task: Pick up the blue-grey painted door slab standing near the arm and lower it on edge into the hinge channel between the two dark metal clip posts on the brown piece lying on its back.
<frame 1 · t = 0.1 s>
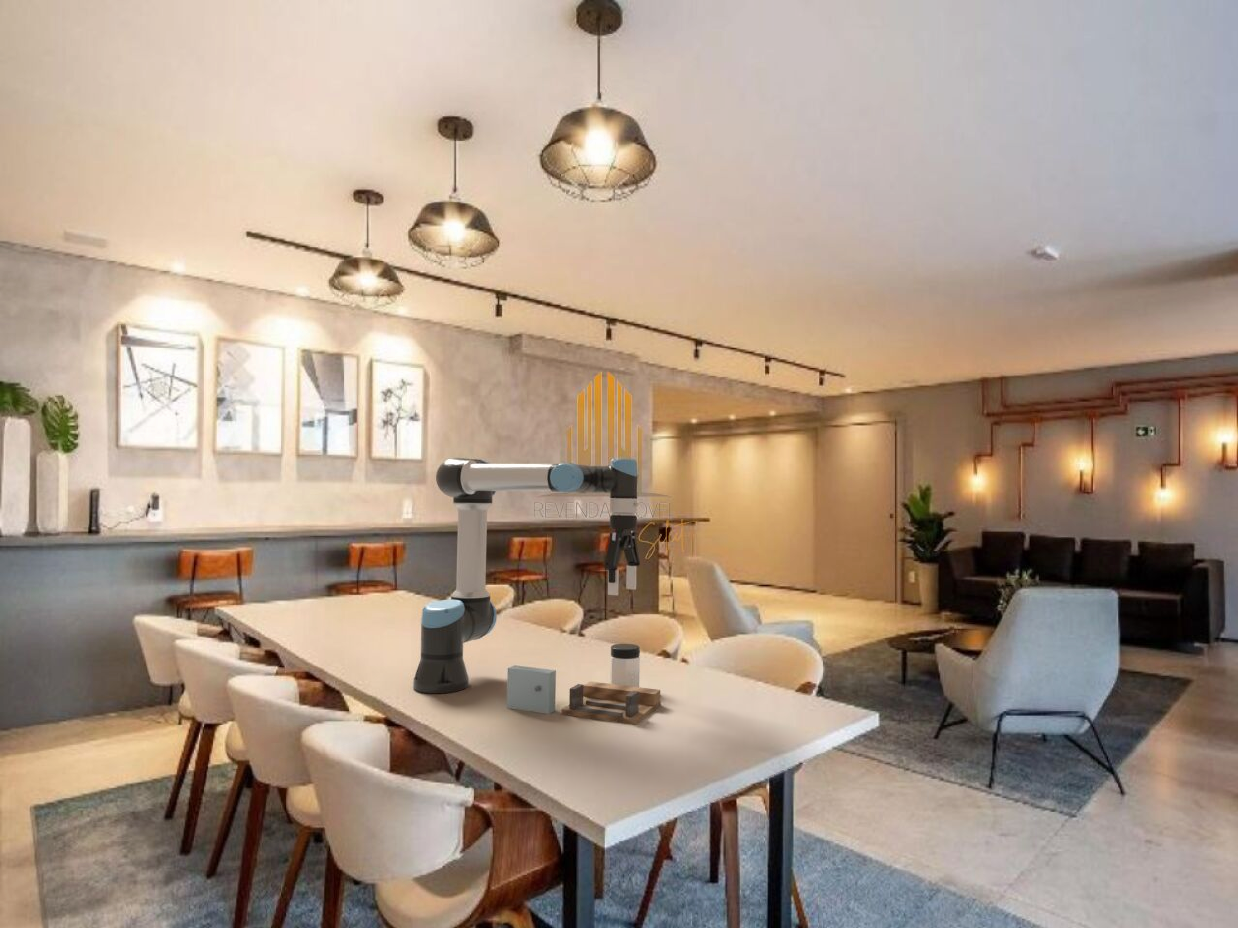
hand: (622, 592, 198), 28 cm above the table, fingers open, 13 cm apart
brown piece: (612, 709, 183), on the table
door: (530, 708, 183), on the table
jar: (624, 690, 202), on the table
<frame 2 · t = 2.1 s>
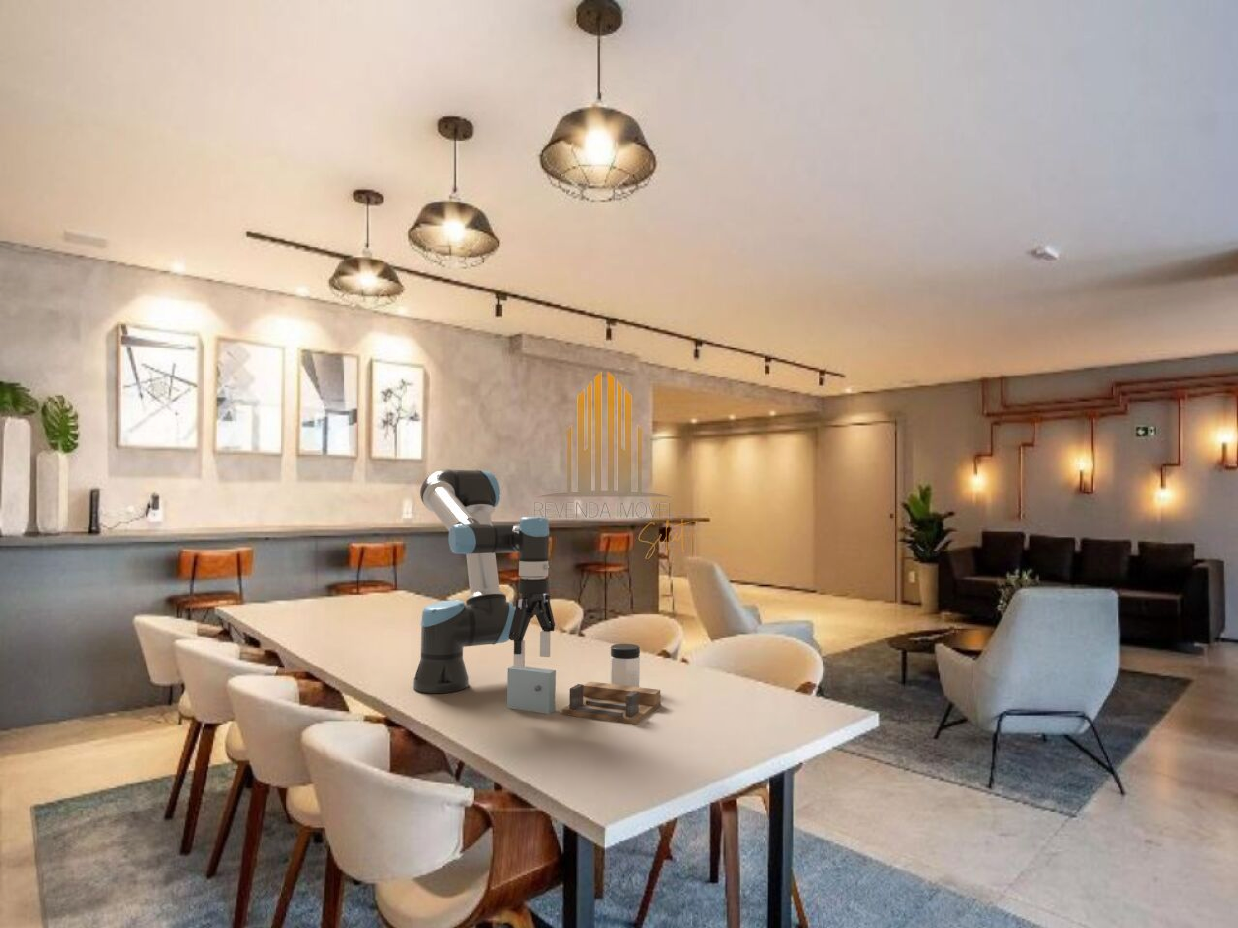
hand: (532, 661, 183), 12 cm above the table, fingers open, 13 cm apart
nothing on the table moved.
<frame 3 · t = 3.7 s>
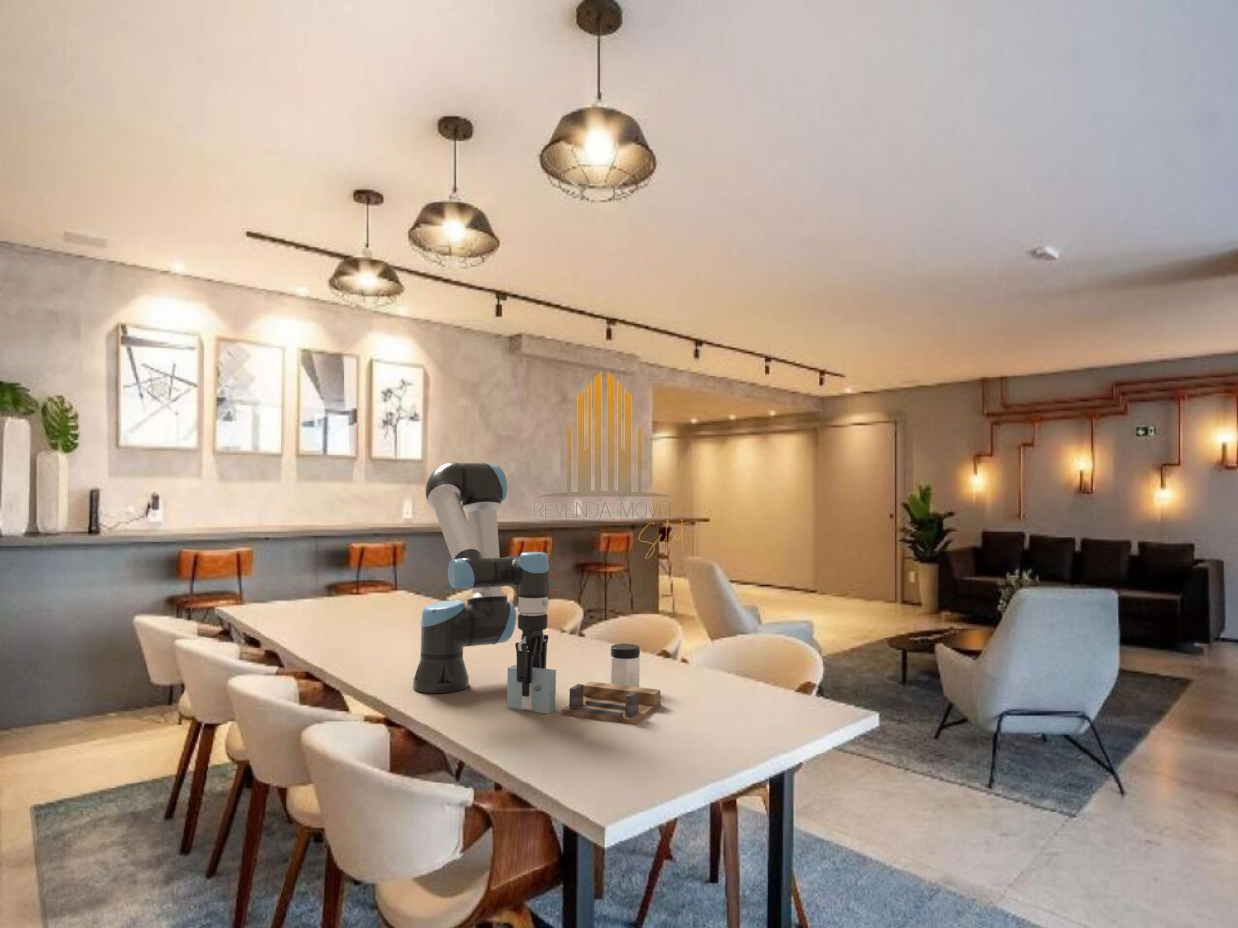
hand: (531, 706, 183), 1 cm above the table, fingers closed on door, 3 cm apart
door: (530, 708, 183), on the table, touching gripper
everything else where it was.
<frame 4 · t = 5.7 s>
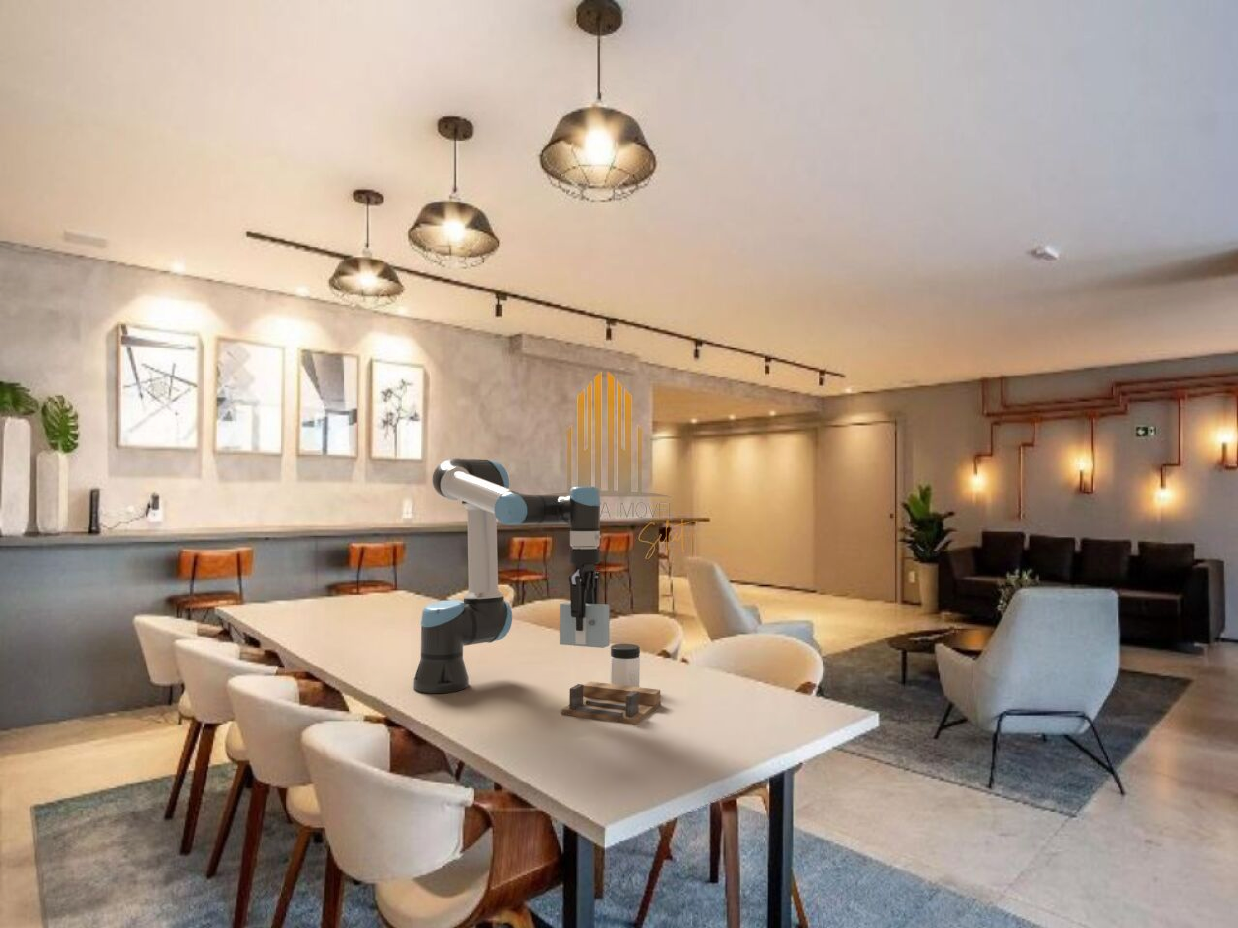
hand: (584, 642, 179), 18 cm above the table, fingers closed on door, 3 cm apart
door: (584, 644, 179), point 17 cm above the table, touching gripper
everything else where it was.
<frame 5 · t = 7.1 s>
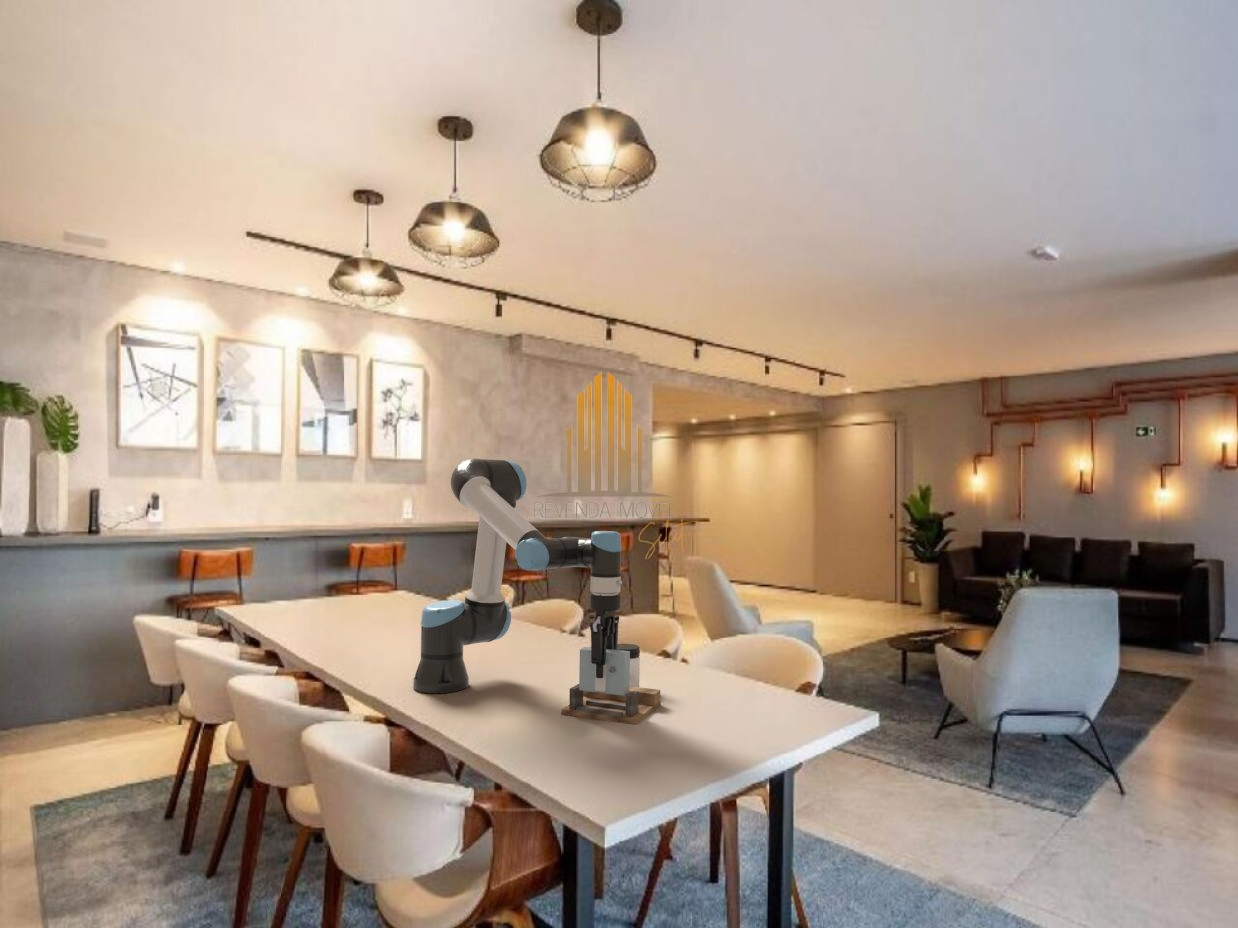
hand: (604, 688, 178), 7 cm above the table, fingers closed on door, 3 cm apart
door: (604, 690, 178), point 6 cm above the table, touching gripper
everything else where it was.
when the fingers open (3 cm above the table, at t = 8.0 s): door drops 1 cm, resting on brown piece.
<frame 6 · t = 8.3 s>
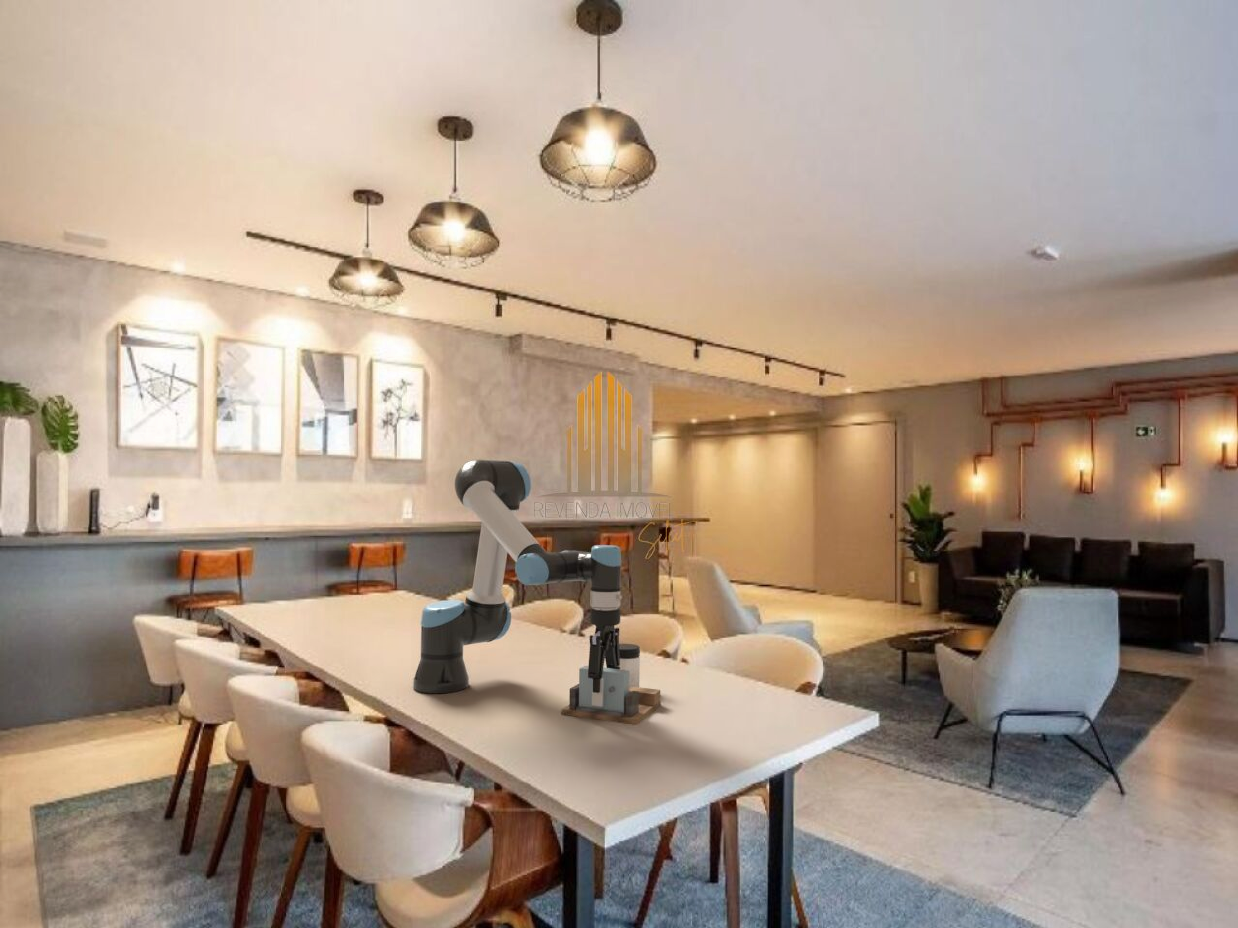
hand: (603, 700, 178), 4 cm above the table, fingers open, 7 cm apart
door: (603, 710, 178), point 1 cm above the table, touching brown piece
everything else where it was.
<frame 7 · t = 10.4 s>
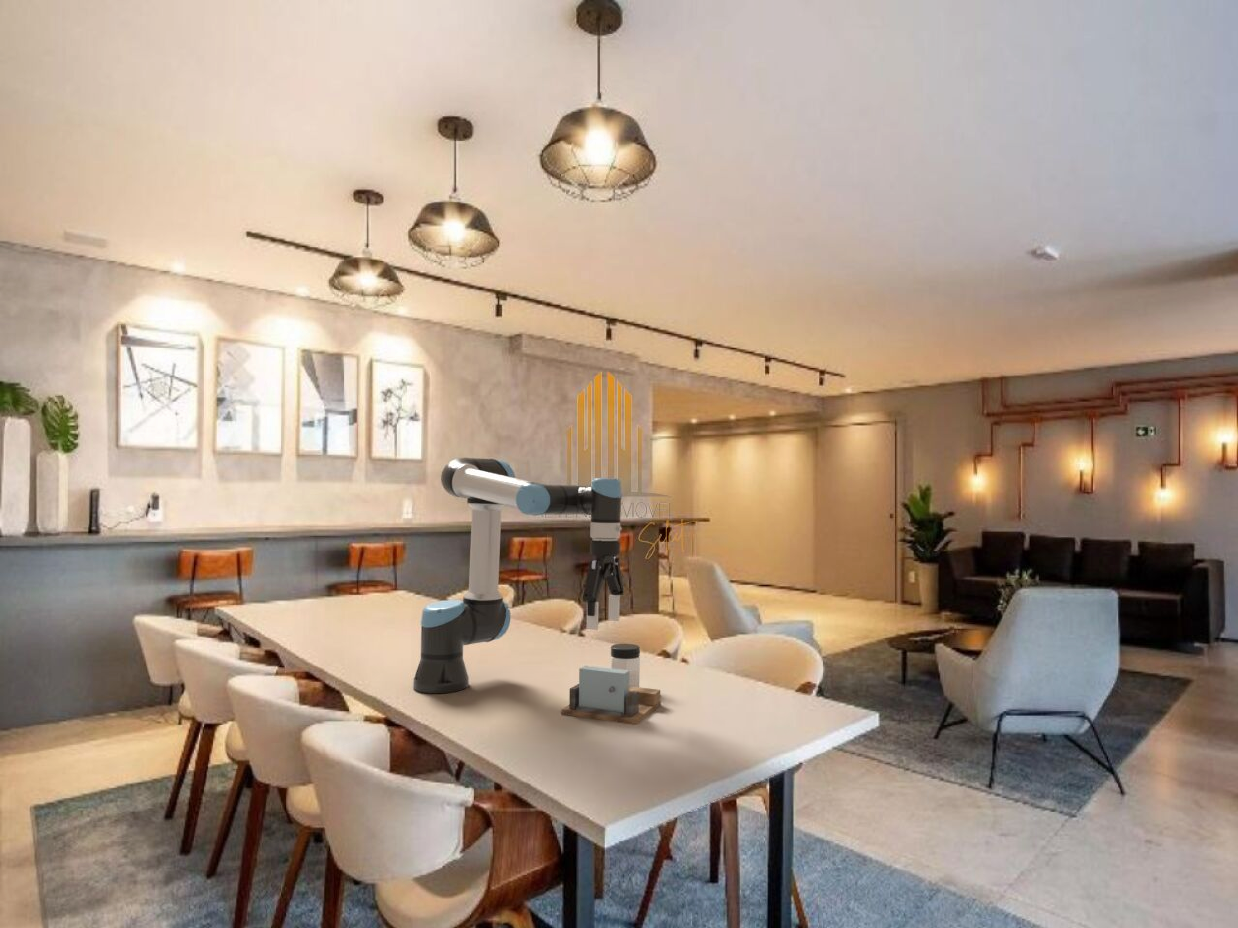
hand: (603, 624, 180), 22 cm above the table, fingers open, 13 cm apart
nothing on the table moved.
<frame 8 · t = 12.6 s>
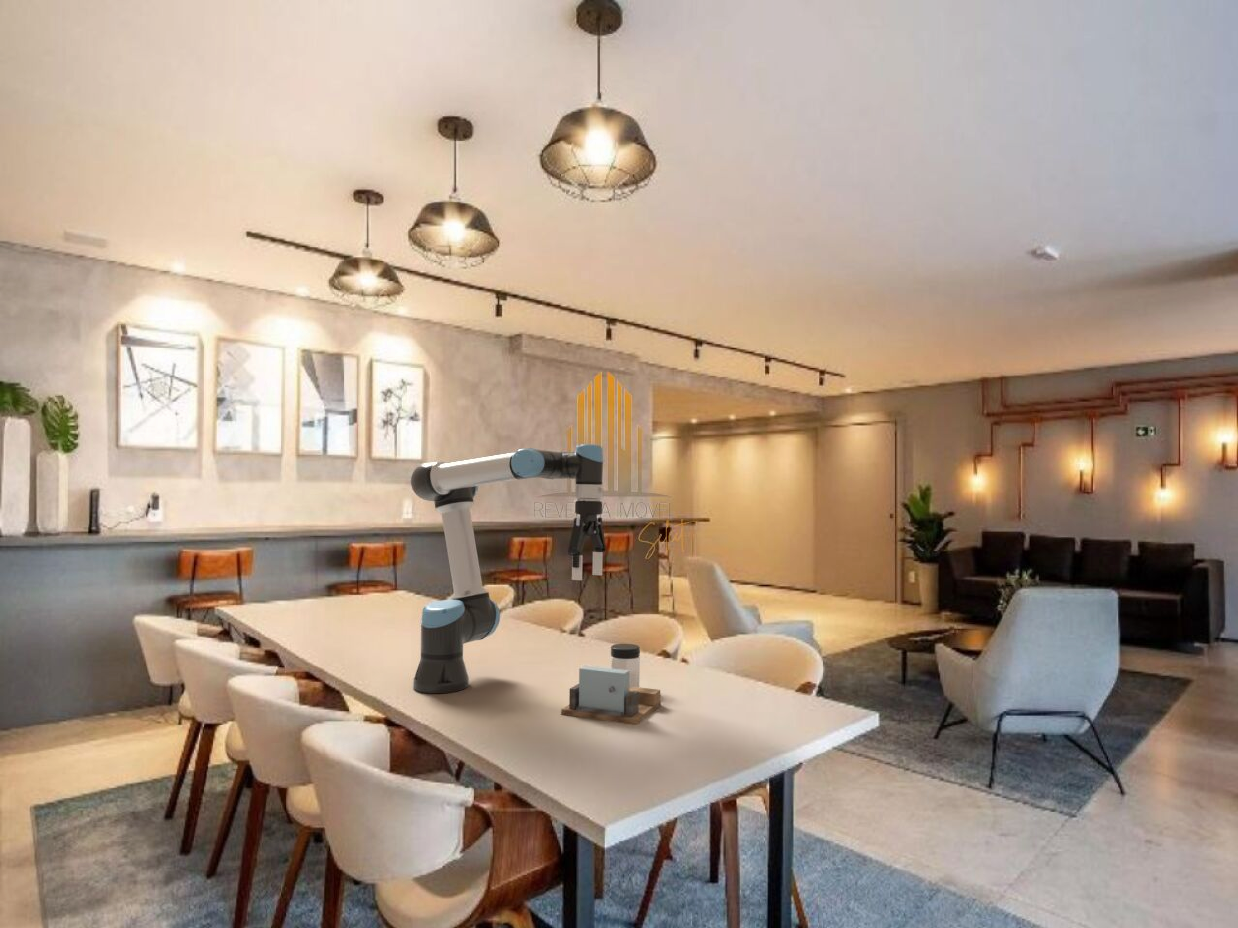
hand: (587, 577, 198), 32 cm above the table, fingers open, 13 cm apart
nothing on the table moved.
at the end: door 0.0 cm from the target spot on the brown piece, point 1.2 cm above the brown piece's base; door tilted 0°; the gripper is holding nothing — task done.
